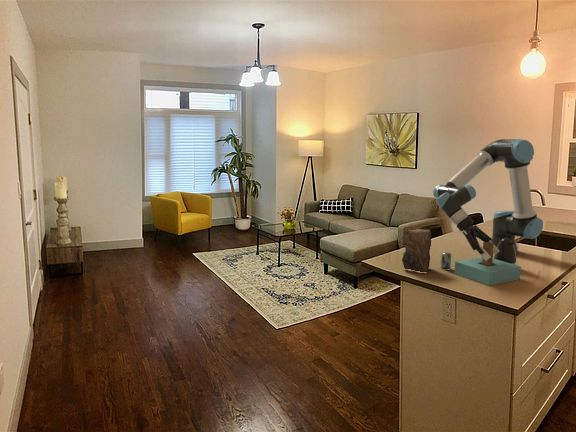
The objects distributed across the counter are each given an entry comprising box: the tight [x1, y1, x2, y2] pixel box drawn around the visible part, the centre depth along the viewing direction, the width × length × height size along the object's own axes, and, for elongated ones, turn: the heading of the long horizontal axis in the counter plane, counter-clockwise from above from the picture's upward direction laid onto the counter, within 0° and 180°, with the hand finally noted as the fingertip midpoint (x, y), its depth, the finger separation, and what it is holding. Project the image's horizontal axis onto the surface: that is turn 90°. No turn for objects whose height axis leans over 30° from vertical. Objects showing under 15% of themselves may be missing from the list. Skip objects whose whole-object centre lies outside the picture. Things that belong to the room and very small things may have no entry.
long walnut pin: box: [481, 241, 494, 266], centre depth 212 cm, size 4×4×16 cm
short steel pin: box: [440, 251, 452, 270], centre depth 225 cm, size 4×4×8 cm
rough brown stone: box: [401, 228, 432, 273], centre depth 224 cm, size 13×13×20 cm
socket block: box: [454, 256, 522, 286], centre depth 213 cm, size 20×20×6 cm
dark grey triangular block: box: [493, 238, 517, 265], centre depth 225 cm, size 10×10×15 cm
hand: (493, 256), depth 210 cm, fingers open, 13 cm apart
